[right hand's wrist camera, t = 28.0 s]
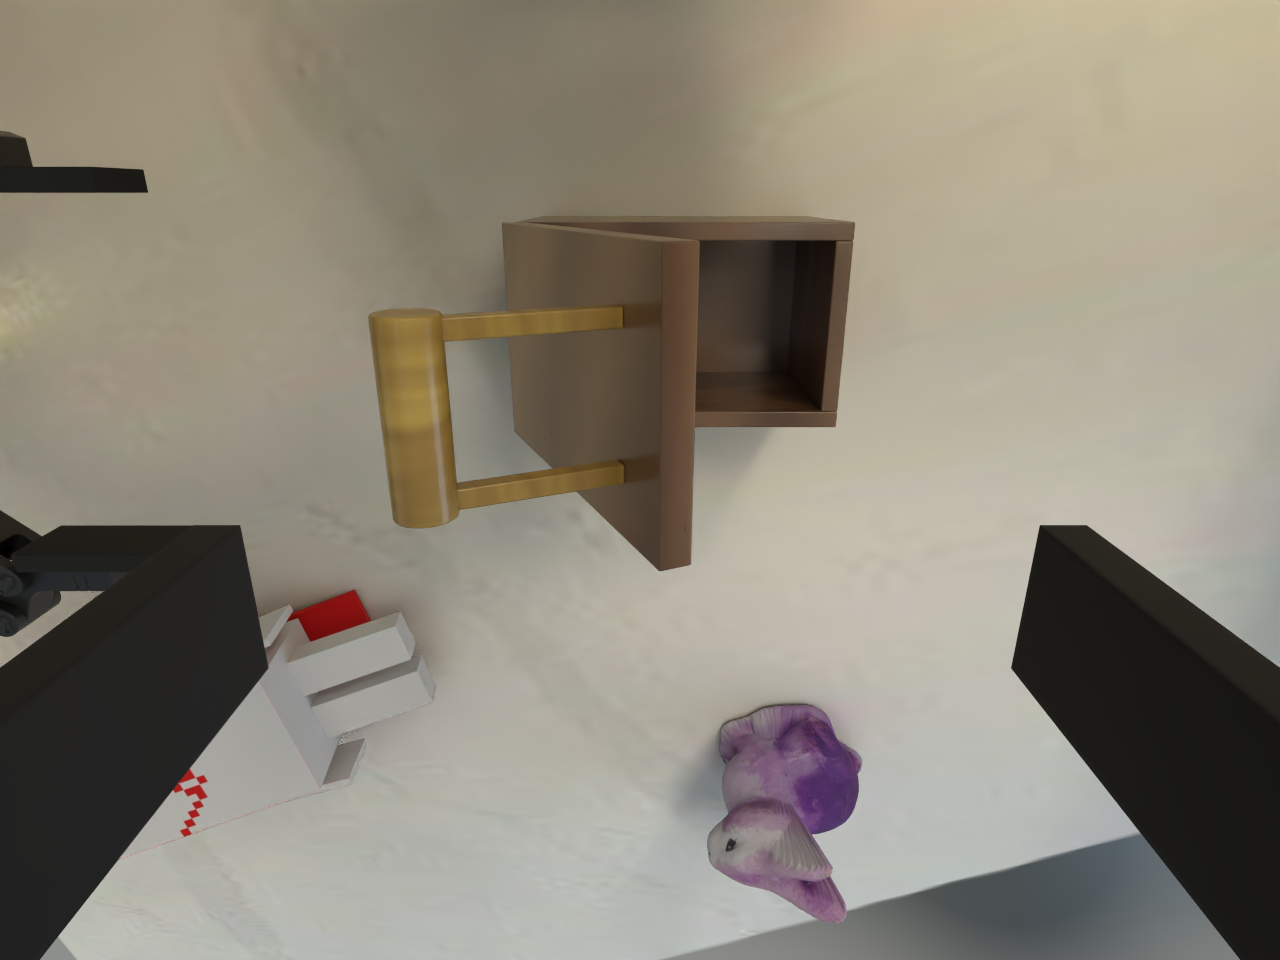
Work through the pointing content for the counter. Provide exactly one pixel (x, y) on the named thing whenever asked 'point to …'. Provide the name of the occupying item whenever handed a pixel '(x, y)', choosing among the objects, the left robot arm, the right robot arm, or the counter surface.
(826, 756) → the figurine
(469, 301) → the counter surface
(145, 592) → the right robot arm
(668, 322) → the lid
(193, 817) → the toy
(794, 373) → the chest
